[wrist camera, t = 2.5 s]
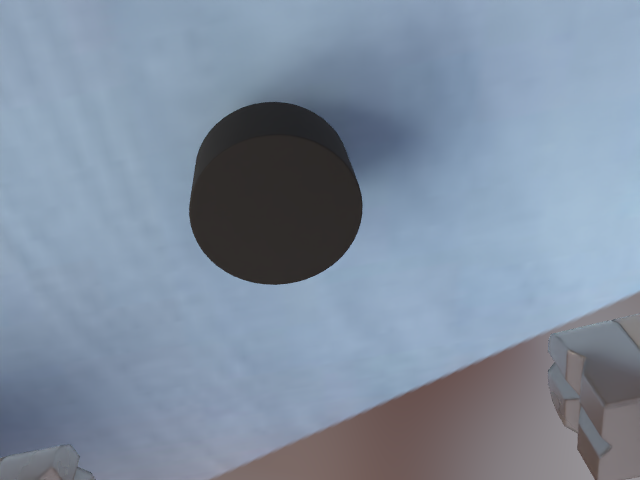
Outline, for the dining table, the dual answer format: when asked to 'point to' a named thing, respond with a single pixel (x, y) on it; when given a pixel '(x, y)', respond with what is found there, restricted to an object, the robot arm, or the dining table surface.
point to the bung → (274, 194)
